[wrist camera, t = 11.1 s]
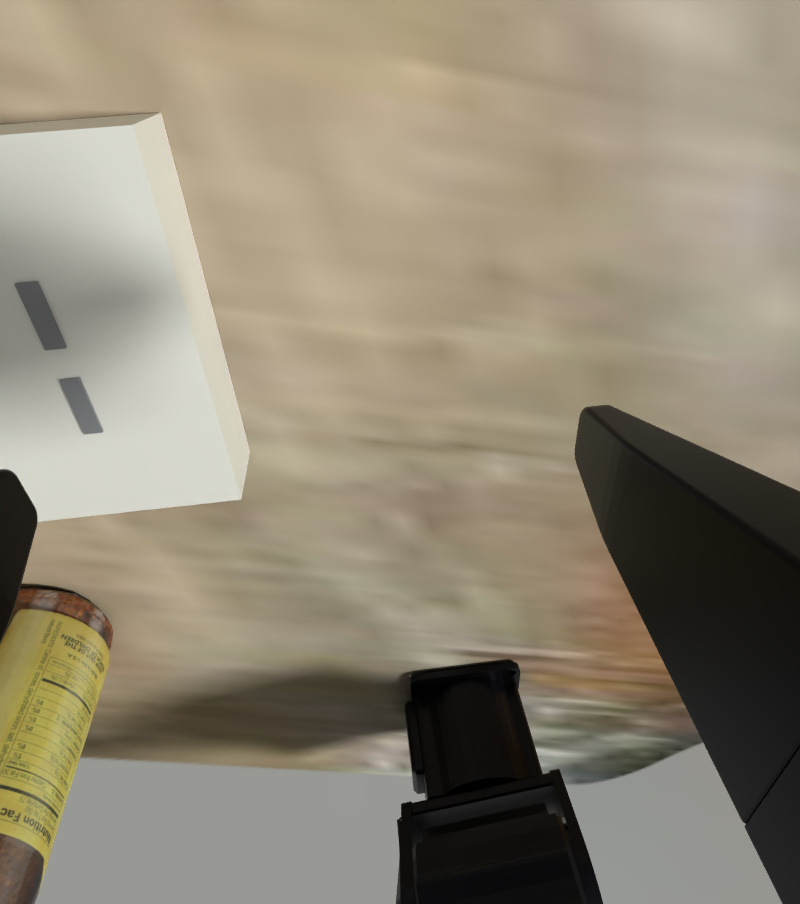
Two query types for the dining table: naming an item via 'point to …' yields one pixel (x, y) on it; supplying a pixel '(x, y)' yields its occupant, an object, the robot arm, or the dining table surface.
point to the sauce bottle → (44, 724)
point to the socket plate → (108, 326)
